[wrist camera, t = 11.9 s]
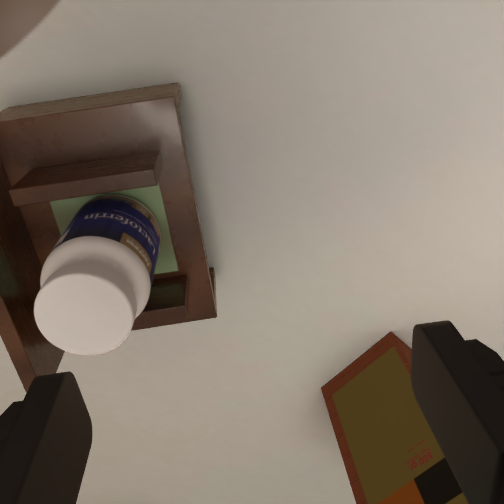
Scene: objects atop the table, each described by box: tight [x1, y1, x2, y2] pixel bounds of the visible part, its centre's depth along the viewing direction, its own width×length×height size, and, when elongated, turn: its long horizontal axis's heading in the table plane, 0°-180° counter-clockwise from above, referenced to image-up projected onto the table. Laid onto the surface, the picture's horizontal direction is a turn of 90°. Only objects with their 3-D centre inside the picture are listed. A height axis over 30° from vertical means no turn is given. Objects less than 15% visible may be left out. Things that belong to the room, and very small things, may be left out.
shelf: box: [0, 83, 217, 393], centre depth 32 cm, size 16×12×12 cm
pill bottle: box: [34, 194, 161, 355], centre depth 27 cm, size 6×6×10 cm
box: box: [321, 332, 468, 504], centre depth 41 cm, size 17×9×20 cm, turn 46°
